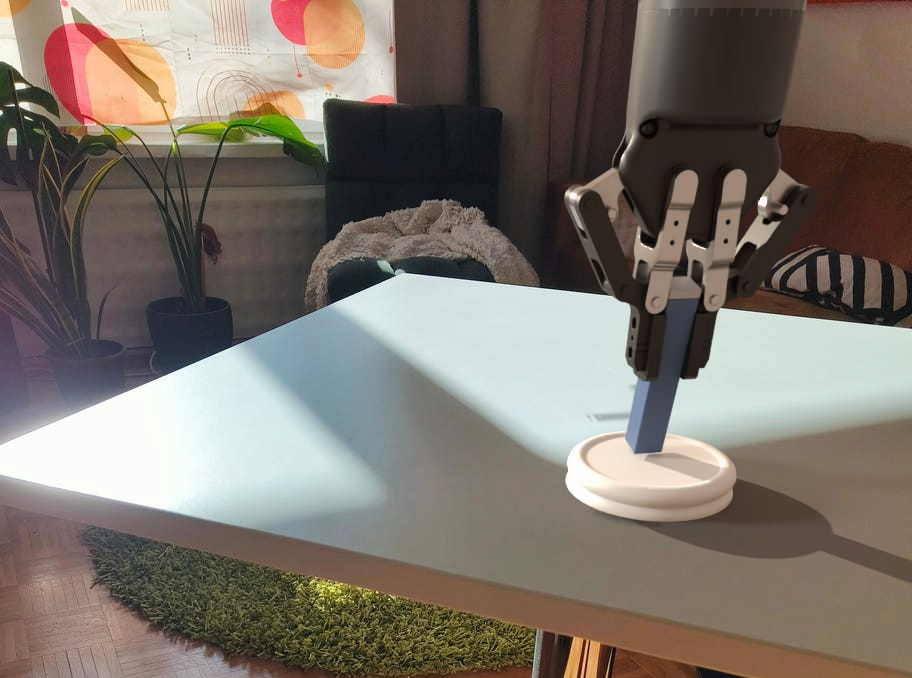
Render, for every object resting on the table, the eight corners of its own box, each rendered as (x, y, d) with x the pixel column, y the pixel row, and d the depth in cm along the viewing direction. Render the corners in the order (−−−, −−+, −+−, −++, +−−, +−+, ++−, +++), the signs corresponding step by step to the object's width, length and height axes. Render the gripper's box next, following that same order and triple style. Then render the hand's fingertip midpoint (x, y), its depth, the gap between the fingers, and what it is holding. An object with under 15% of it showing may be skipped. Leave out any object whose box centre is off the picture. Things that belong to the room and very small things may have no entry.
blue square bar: (651, 437, 55) (689, 275, 48) (662, 452, 54) (702, 289, 47) (624, 439, 55) (658, 277, 48) (634, 454, 54) (670, 290, 47)
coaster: (530, 502, 56) (534, 449, 54) (640, 466, 61) (647, 417, 59) (648, 564, 50) (658, 507, 48) (761, 519, 55) (773, 465, 53)
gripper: (605, -3, 37) (568, 404, 47) (904, 2, 39) (809, 391, 49) (554, 4, 43) (530, 363, 53) (814, 8, 45) (746, 352, 55)
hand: (664, 375), depth 51 cm, fingers closed on blue square bar, 2 cm apart
